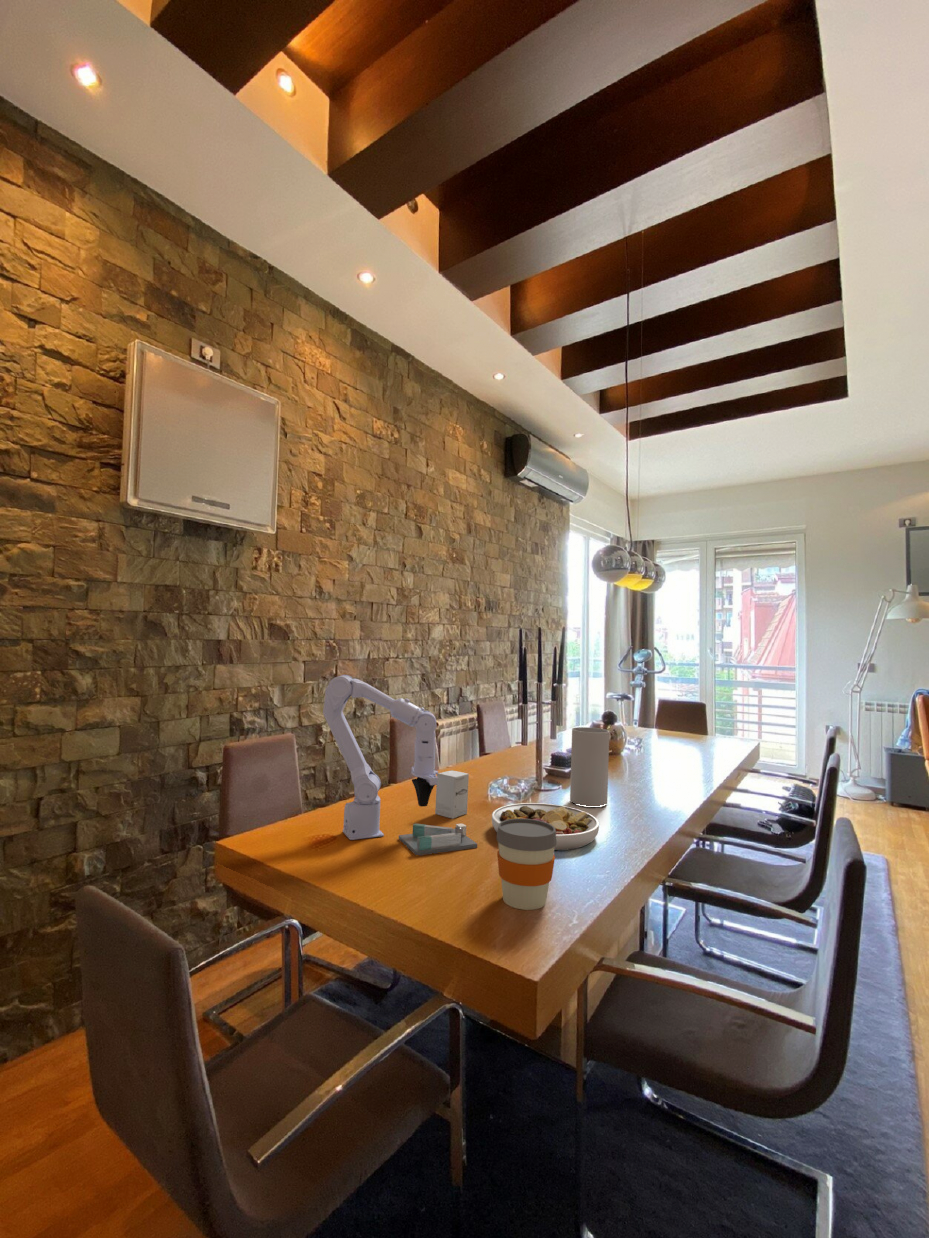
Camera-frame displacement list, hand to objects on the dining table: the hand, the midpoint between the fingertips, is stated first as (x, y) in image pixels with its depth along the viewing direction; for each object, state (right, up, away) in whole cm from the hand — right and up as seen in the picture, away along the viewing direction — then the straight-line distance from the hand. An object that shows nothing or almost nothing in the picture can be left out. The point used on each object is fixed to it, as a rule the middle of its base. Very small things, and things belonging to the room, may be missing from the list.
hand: (422, 805), depth 159 cm
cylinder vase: (+54, -12, +39) cm, 67 cm away
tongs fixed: (+5, -7, -11) cm, 14 cm away
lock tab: (+10, -7, -2) cm, 13 cm away
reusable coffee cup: (+24, -7, -39) cm, 46 cm away
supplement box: (+7, -9, +20) cm, 23 cm away
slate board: (+4, -8, -6) cm, 11 cm away
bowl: (+34, -10, +4) cm, 36 cm away
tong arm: (+3, -7, -6) cm, 9 cm away
